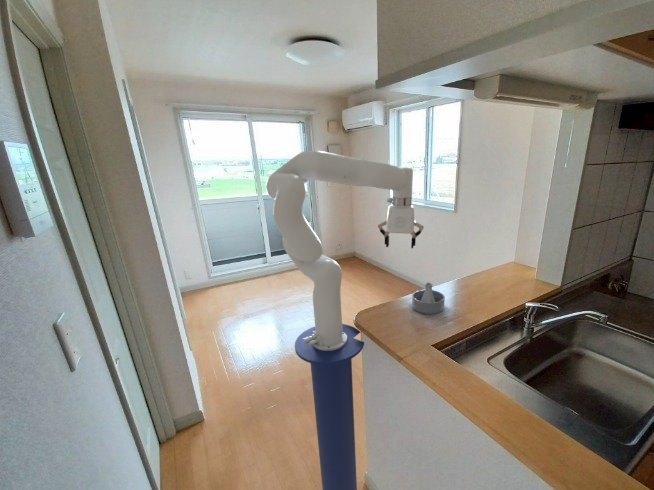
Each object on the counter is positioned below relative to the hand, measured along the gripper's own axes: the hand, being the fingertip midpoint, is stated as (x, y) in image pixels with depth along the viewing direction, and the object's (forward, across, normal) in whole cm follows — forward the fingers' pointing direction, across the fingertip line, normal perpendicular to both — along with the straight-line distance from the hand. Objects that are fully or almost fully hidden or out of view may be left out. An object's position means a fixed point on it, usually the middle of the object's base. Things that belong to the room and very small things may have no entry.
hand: (399, 246), depth 120 cm
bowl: (+27, +12, +6) cm, 31 cm away
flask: (+27, +12, +6) cm, 30 cm away
